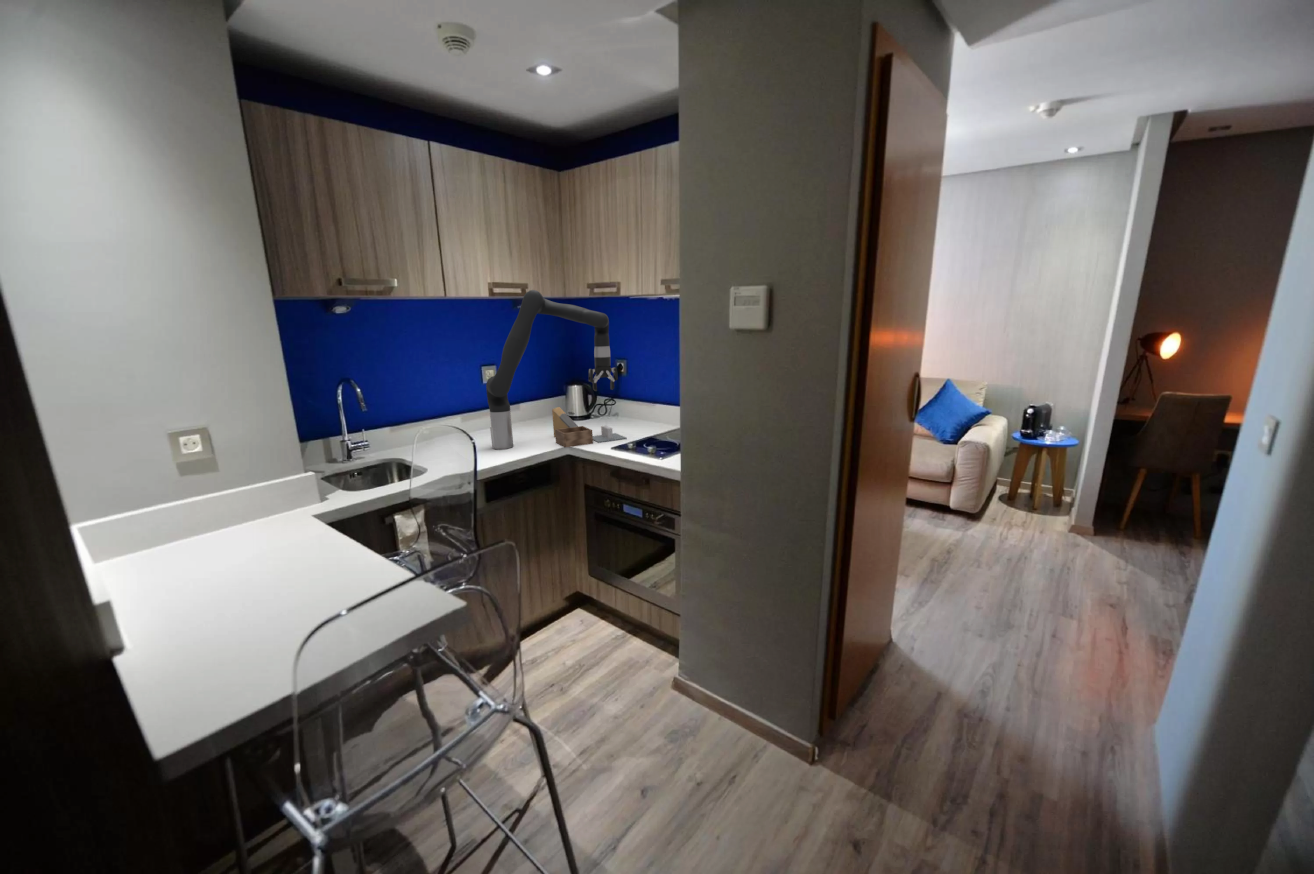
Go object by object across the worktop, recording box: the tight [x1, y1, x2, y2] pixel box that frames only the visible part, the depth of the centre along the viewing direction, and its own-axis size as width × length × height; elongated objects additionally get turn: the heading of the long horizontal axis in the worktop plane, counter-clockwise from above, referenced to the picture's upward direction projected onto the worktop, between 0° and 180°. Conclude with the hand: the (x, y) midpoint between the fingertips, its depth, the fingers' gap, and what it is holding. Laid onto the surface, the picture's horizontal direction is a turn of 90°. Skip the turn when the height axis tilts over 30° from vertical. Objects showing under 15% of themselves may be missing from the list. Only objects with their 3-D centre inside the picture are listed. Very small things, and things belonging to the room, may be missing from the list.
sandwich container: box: [551, 406, 580, 438], centre depth 263 cm, size 9×15×15 cm, turn 76°
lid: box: [593, 425, 627, 444], centre depth 256 cm, size 15×13×7 cm
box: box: [555, 425, 594, 448], centre depth 248 cm, size 14×12×7 cm
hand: (603, 390), depth 251 cm, fingers open, 8 cm apart
